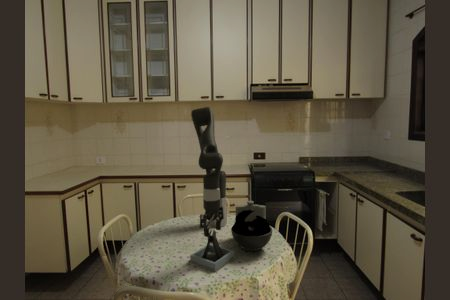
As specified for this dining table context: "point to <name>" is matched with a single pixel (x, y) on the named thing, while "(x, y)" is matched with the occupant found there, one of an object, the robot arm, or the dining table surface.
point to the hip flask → (258, 210)
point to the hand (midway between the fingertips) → (212, 233)
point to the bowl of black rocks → (251, 231)
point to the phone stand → (216, 246)
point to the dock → (210, 265)
